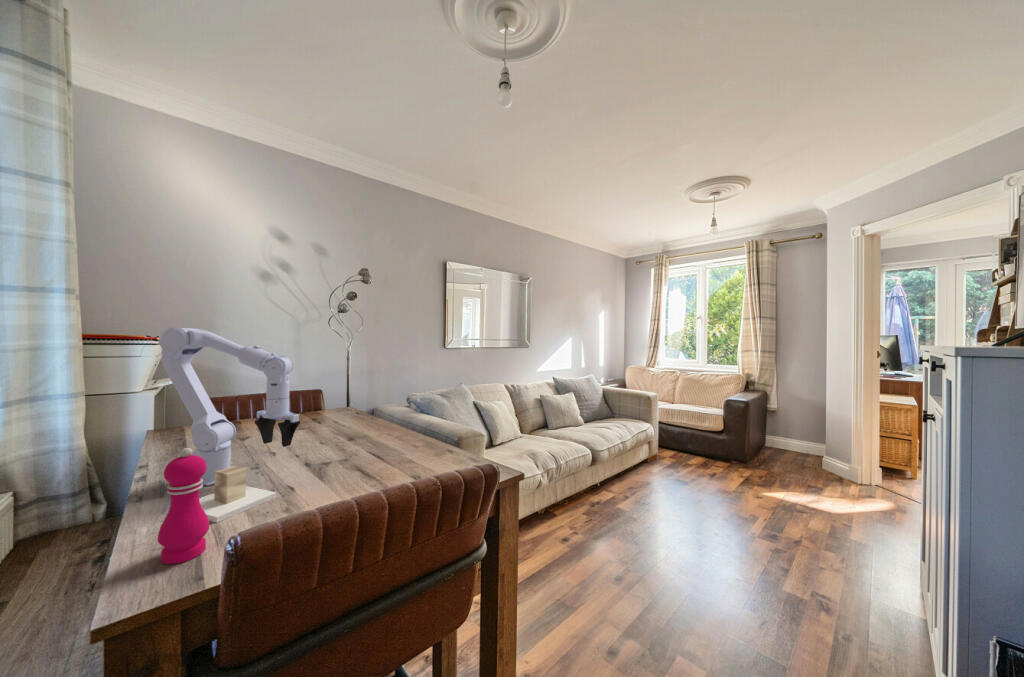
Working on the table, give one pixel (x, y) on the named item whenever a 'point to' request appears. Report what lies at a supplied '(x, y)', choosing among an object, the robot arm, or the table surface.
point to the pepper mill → (184, 510)
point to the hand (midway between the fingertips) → (277, 444)
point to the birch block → (230, 484)
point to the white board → (234, 504)
